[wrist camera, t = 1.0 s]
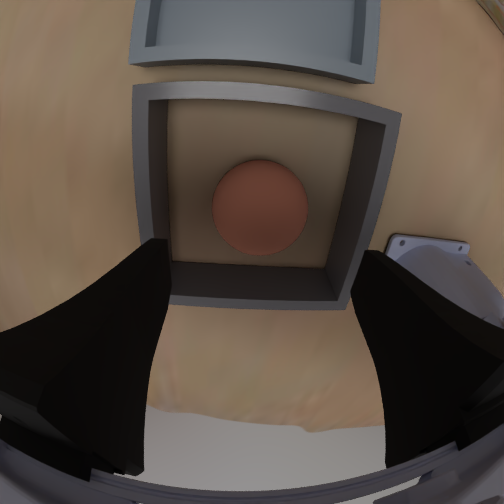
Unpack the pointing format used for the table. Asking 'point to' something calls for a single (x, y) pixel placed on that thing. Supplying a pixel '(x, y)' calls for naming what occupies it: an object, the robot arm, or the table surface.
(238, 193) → the ball
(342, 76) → the tray
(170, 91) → the grey square frame
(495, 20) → the coffeecake box
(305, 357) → the table surface
